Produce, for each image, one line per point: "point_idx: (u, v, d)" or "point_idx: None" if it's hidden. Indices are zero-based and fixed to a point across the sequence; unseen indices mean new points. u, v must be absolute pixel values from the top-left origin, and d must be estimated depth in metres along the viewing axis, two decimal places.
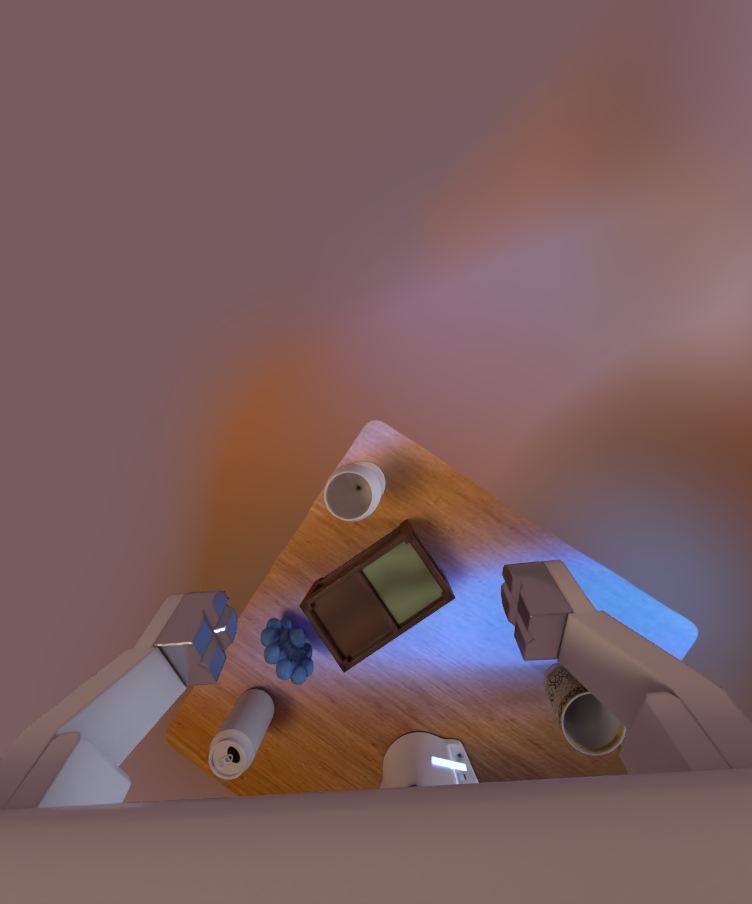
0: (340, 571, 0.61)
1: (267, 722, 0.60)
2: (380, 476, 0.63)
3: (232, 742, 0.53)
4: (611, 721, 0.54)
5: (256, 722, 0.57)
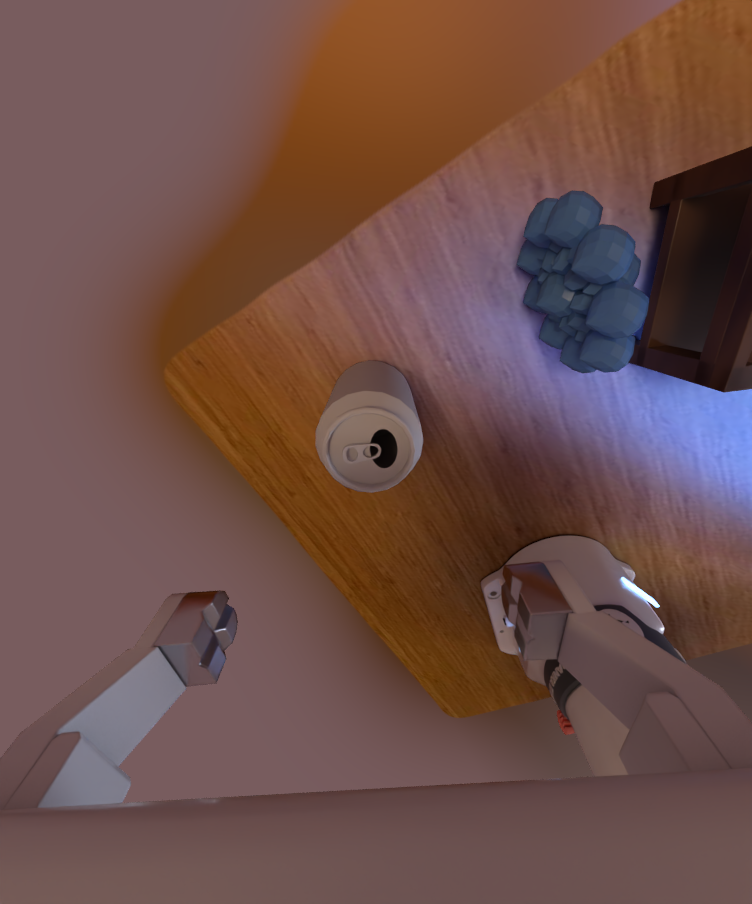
0: None
1: None
2: None
3: (401, 422, 0.20)
4: None
5: None
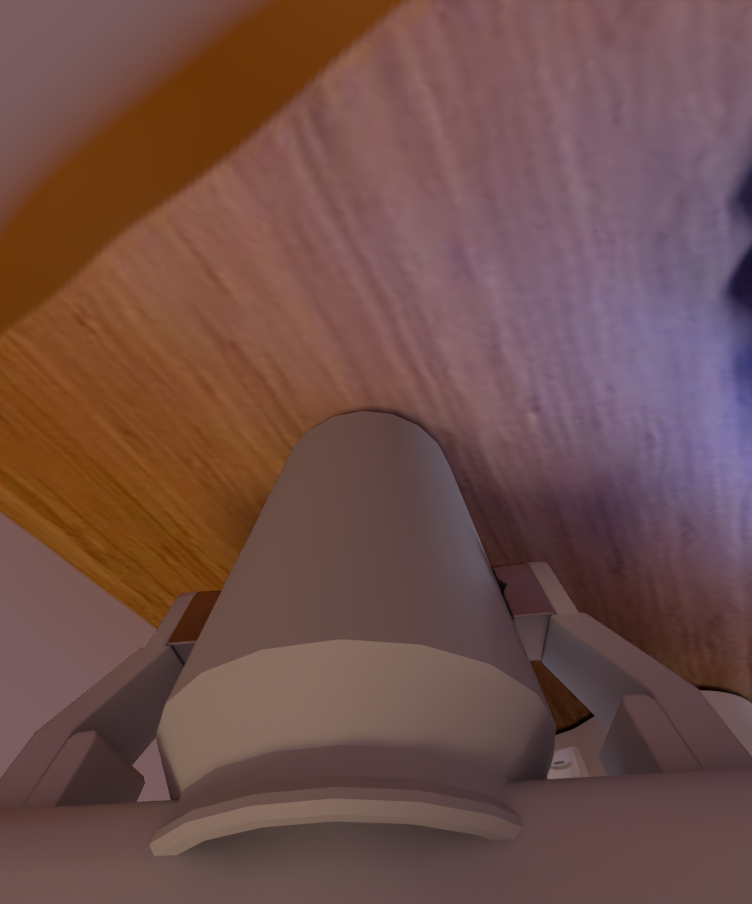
0: None
1: None
2: None
3: None
4: None
5: None
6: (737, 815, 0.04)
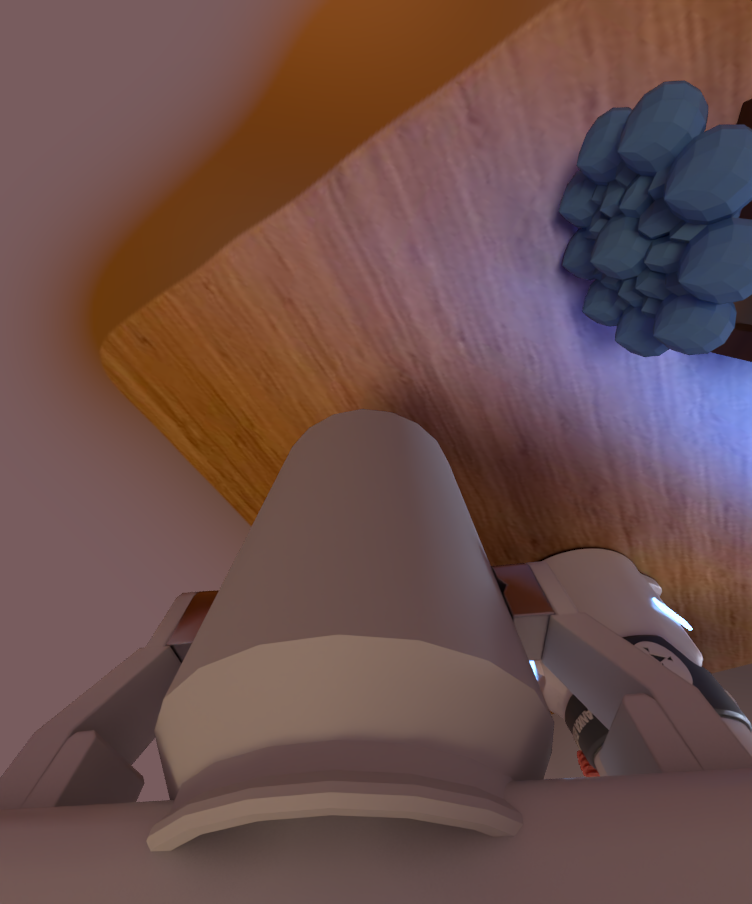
0: None
1: None
2: None
3: None
4: None
5: None
6: (737, 815, 0.04)
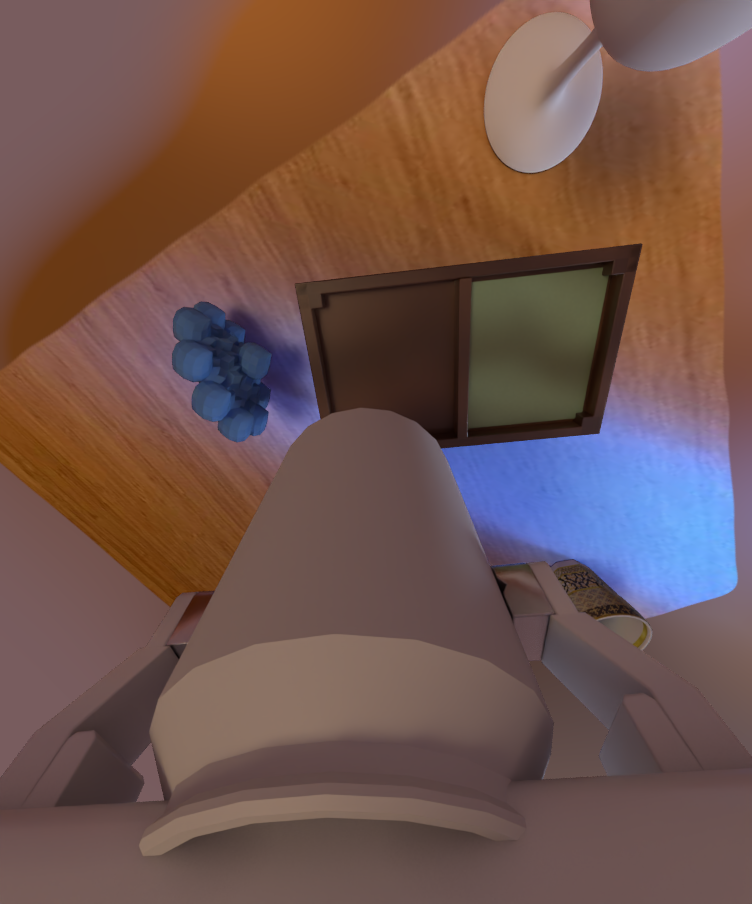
0: None
1: None
2: (592, 104, 0.24)
3: (515, 837, 0.04)
4: None
5: None
6: (737, 815, 0.04)
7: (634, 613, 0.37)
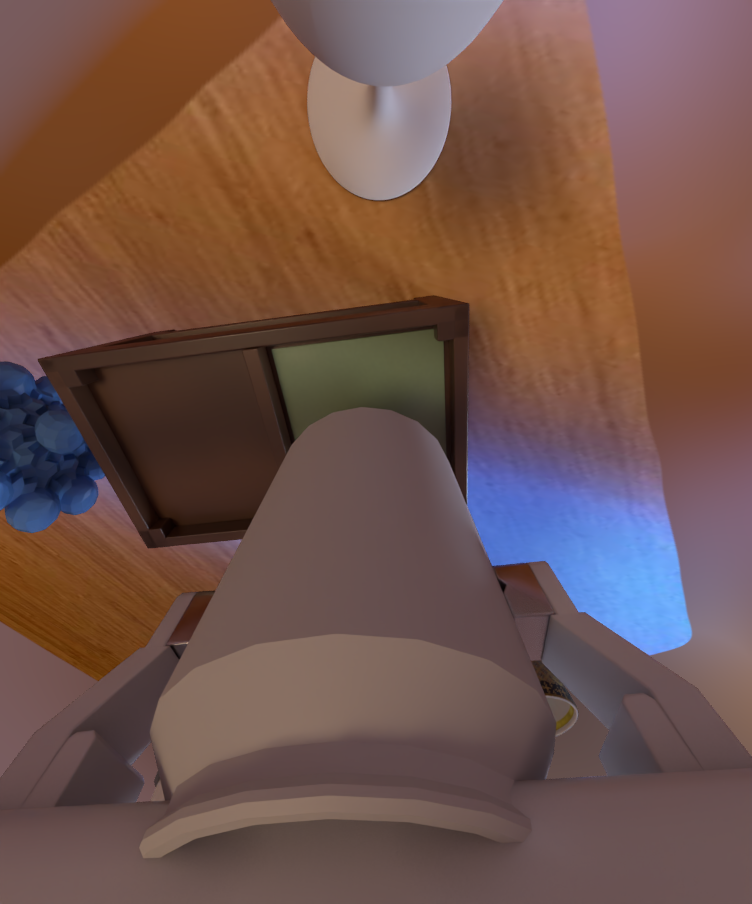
0: None
1: None
2: (440, 116, 0.20)
3: (519, 838, 0.04)
4: None
5: None
6: (737, 815, 0.04)
7: (555, 691, 0.33)
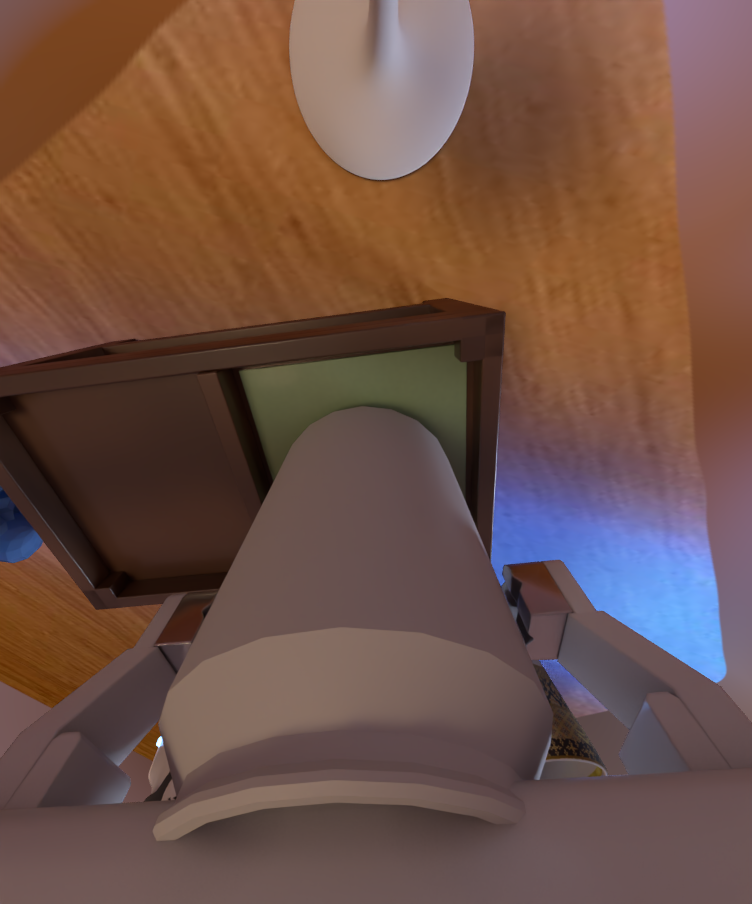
0: (187, 345, 0.19)
1: None
2: (459, 69, 0.15)
3: (516, 821, 0.04)
4: (561, 764, 0.34)
5: None
6: (737, 815, 0.04)
7: (582, 753, 0.28)
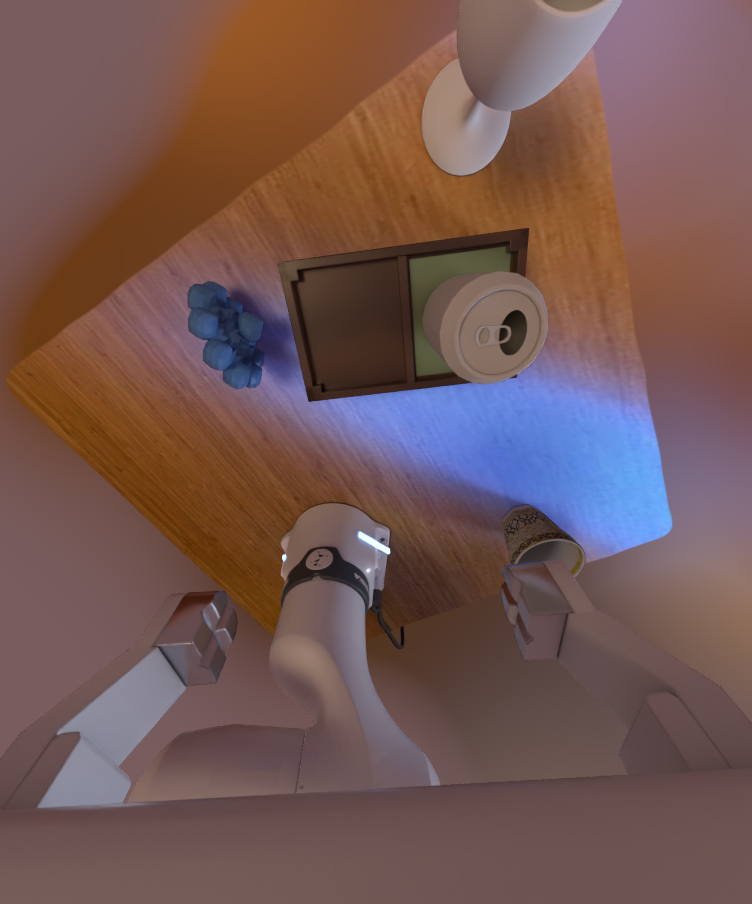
0: None
1: (506, 341, 0.29)
2: (504, 122, 0.32)
3: (539, 299, 0.21)
4: None
5: None
6: (737, 815, 0.04)
7: (568, 538, 0.45)
